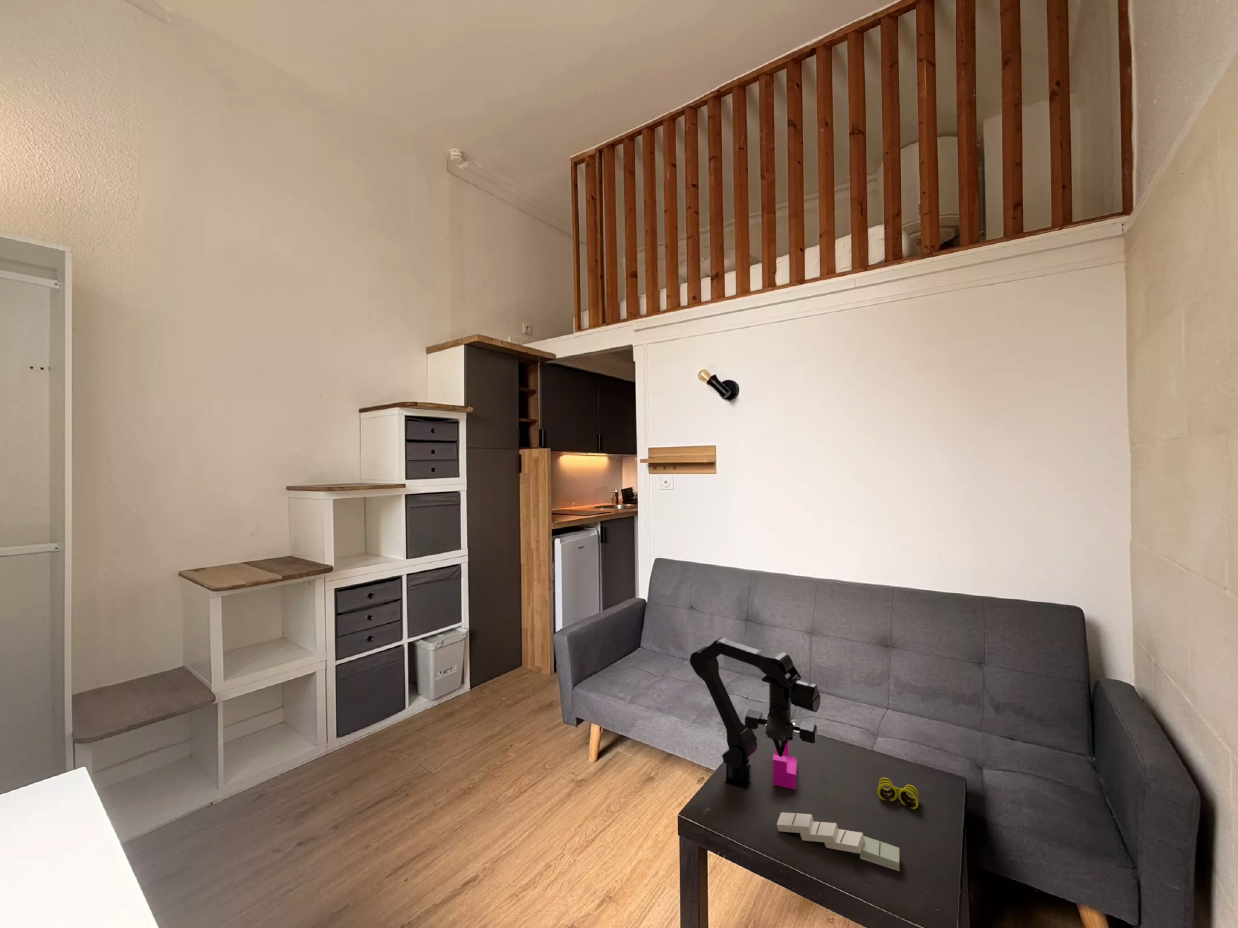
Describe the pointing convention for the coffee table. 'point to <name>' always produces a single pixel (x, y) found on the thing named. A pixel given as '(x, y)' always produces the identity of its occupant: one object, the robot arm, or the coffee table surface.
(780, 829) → the domino
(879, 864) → the domino
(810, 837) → the domino
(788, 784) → the toy block
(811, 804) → the coffee table surface
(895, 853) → the pale green domino
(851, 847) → the domino
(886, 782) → the opera glasses
